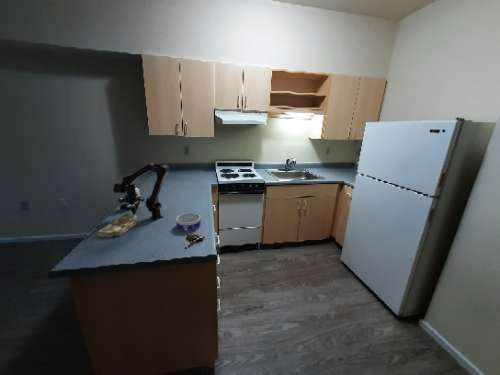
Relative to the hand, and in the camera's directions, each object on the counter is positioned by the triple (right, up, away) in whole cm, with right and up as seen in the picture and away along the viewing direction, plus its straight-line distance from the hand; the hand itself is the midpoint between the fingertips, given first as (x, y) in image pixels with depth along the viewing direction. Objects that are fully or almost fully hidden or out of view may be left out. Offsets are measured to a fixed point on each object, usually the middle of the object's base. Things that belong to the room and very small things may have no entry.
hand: (134, 214), depth 150 cm
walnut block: (-1, -4, -8) cm, 9 cm away
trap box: (0, -7, -14) cm, 16 cm away
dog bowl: (+41, -7, -10) cm, 43 cm away
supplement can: (-9, +3, +17) cm, 20 cm away
